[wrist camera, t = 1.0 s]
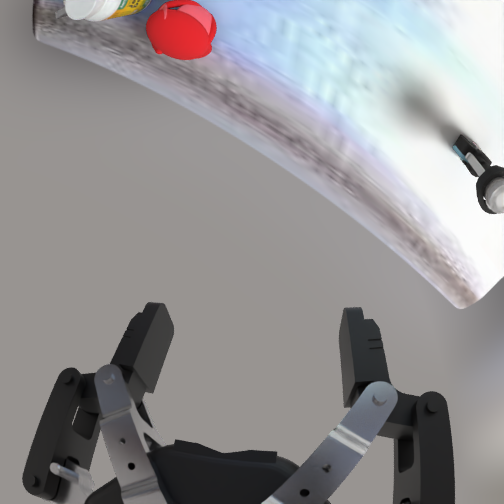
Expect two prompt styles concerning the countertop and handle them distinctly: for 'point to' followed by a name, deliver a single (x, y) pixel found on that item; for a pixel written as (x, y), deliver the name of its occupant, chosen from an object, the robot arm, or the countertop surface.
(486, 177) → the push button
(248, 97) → the countertop surface
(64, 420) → the robot arm
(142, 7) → the supplement bottle
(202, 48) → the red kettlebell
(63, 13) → the index track
